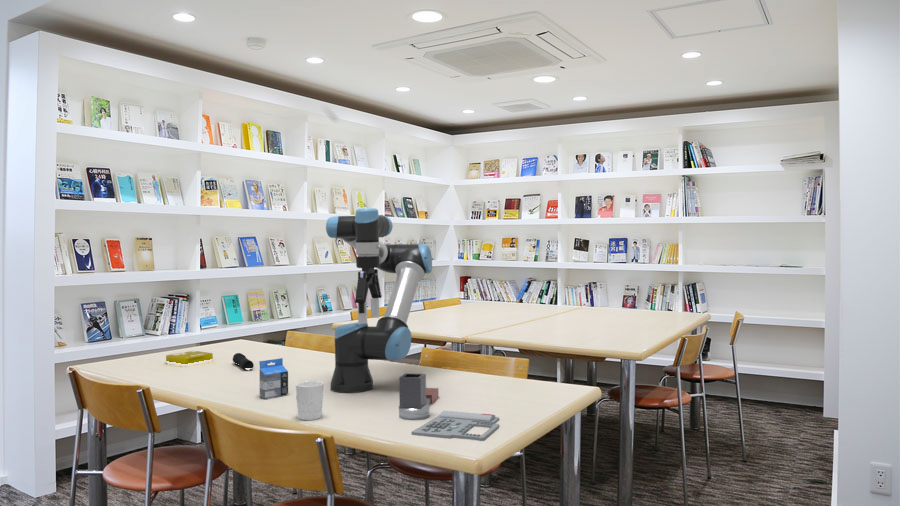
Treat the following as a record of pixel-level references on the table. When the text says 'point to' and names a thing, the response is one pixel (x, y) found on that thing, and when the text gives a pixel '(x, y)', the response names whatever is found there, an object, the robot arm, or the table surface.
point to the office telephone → (458, 425)
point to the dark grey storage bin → (412, 391)
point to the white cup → (309, 400)
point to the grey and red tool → (424, 411)
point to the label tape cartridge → (273, 379)
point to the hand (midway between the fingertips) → (369, 320)
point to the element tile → (189, 357)
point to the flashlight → (242, 361)
